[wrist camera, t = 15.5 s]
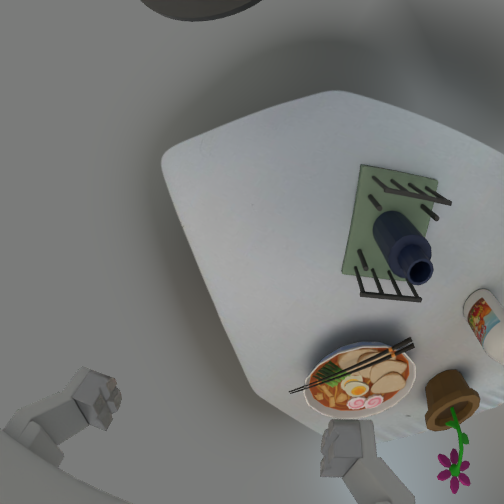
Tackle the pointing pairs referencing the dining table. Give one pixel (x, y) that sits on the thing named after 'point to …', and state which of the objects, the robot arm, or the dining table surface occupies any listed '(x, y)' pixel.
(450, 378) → the flowerpot
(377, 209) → the rack
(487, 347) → the milk bottle
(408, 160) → the dining table surface
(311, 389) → the ramen bowl
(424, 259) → the bottle
